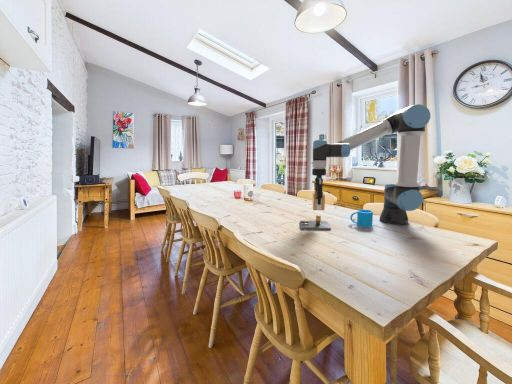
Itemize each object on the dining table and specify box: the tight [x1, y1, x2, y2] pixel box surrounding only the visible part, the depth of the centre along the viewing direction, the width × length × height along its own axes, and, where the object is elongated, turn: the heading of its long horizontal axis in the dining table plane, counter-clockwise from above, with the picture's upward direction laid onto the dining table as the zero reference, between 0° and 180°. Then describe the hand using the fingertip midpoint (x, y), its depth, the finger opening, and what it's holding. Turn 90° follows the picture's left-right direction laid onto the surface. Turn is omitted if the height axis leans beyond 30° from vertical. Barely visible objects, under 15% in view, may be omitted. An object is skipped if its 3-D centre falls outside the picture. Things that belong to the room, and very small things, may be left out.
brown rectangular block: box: [312, 190, 326, 211], centre depth 139 cm, size 6×6×10 cm
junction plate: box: [299, 214, 332, 231], centre depth 141 cm, size 16×14×6 cm
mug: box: [350, 209, 374, 228], centre depth 142 cm, size 12×8×8 cm
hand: (318, 208), depth 139 cm, fingers closed on brown rectangular block, 6 cm apart
